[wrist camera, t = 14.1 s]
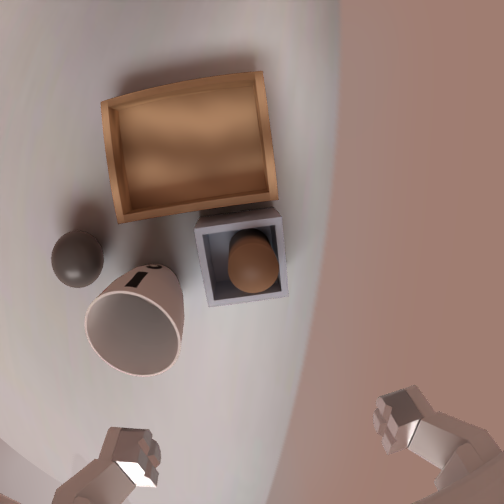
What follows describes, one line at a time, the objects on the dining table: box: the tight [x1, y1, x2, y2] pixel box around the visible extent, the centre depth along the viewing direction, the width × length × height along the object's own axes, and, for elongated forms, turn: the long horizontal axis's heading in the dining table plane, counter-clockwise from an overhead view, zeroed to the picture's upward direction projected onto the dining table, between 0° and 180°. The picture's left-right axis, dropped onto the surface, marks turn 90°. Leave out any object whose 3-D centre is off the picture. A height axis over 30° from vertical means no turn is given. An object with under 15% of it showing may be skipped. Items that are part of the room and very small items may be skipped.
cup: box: [85, 264, 184, 377], centre depth 26 cm, size 8×8×10 cm
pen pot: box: [194, 207, 289, 307], centre depth 28 cm, size 7×7×5 cm
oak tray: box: [101, 71, 279, 224], centre depth 25 cm, size 11×14×4 cm
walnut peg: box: [228, 228, 279, 293], centre depth 26 cm, size 4×4×6 cm
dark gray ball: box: [51, 231, 104, 288], centre depth 26 cm, size 6×6×6 cm
